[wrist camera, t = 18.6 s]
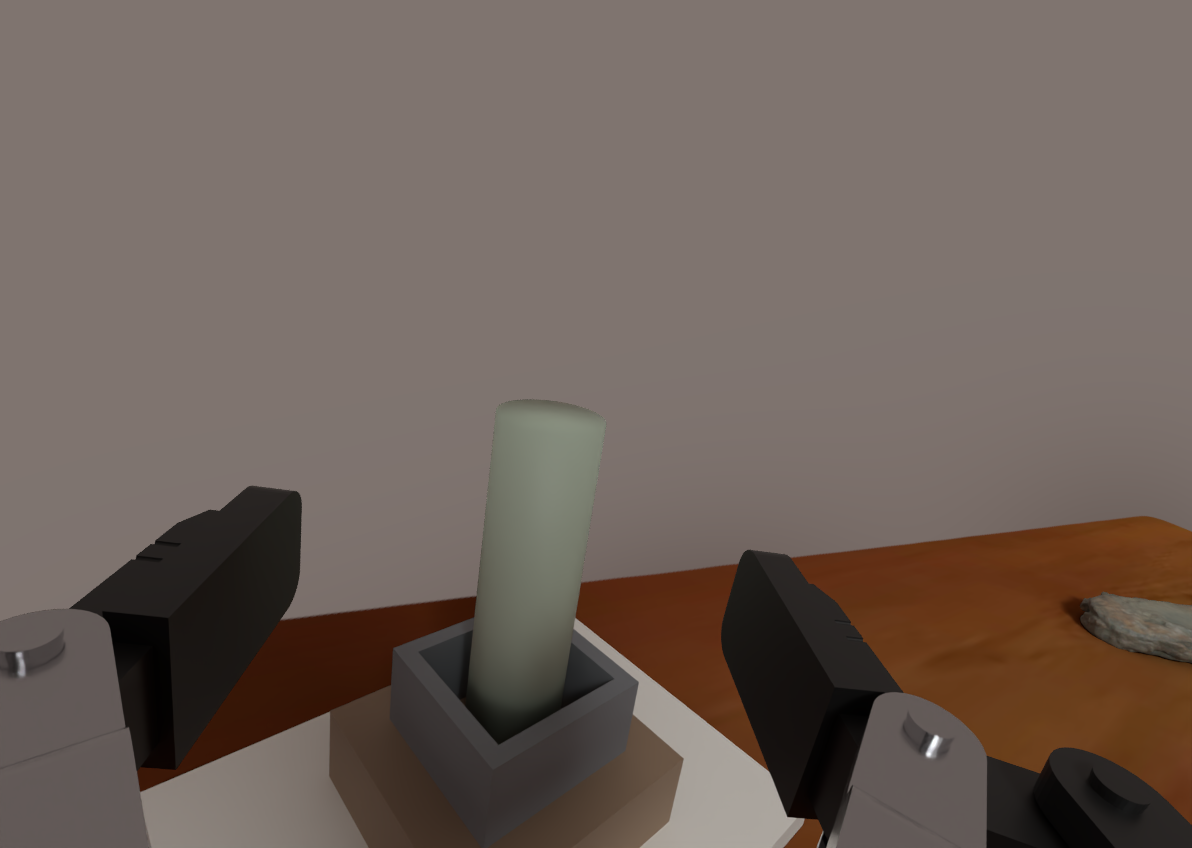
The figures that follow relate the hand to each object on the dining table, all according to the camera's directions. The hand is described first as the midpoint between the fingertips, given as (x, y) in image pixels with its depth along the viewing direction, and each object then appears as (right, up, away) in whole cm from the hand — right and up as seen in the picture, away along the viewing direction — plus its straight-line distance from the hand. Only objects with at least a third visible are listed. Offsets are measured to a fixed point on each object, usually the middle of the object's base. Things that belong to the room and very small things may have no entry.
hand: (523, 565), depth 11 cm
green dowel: (-3, -12, +18) cm, 22 cm away
